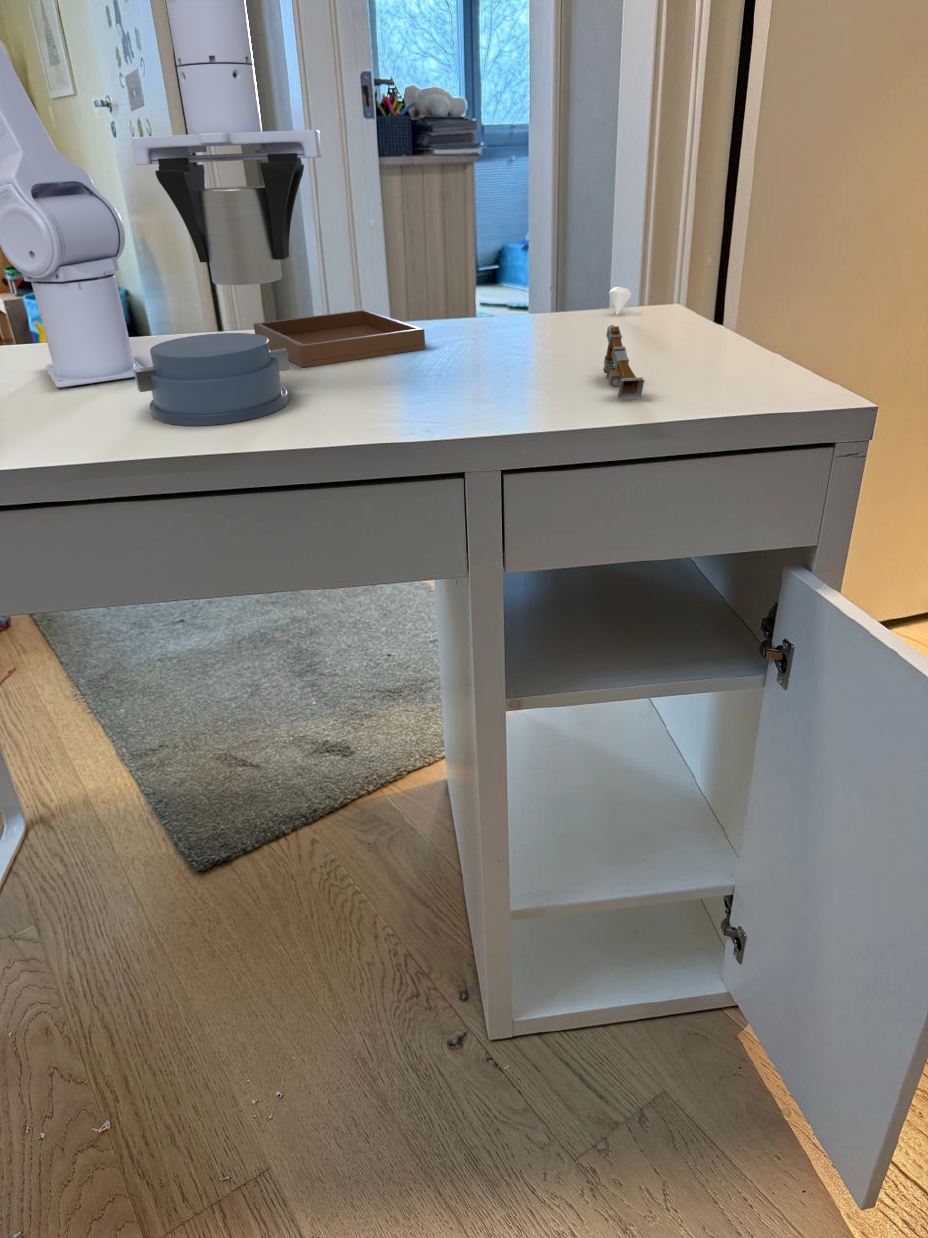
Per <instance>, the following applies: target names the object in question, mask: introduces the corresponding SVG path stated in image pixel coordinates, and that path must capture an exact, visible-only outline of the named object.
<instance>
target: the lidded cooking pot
mask: <svg viewBox="0 0 928 1238" xmlns="http://www.w3.org/2000/svg"><path fill="white" fill-rule="evenodd" d="M149 353H150V359H151V362H152V366H147V367H143V368H141V369H134V375H135V377H134V379H135V383H136V389H137V390H138V391H139V393H145V392H151V395H152V400H151V401H150V403H149V410H150V411H149V412H150V415H151V417H152V418H153V419H154V420H156V421H158V422H161V423H164V424H168V425H174V426H187V427H189V426H193V427H196V426H198V427H200V426H201V427H202V426H218V425H225V424H226V425H227V424H233V423H234V424H235V423H241V422H245V421H250V420H254V419H258V418H262V417H266V416H268V415H271V414H273V413H275V412H278V411H279V410H282V409H284V408H285V407H286V406H287V405H288V403H289V396H288V391H287V389H286V388H285V387H284V386H282V380H281V374H280V373H281V372H285V371H289V370H291V367H290V360H289V359H288V352H287V350H285V349H276V350H270V346H269V340H268V338H266V337H264V336H261V335H257V334H255V333H247V332H246V333H245V332H219V333H218V332H217V333H206V334H205V333H204V334H198V335H190V336H184V337H179V338H174V339H169V340H165V341H162V342H159V343H157V344H154V345H153V346H152V347H150V349H149Z"/></svg>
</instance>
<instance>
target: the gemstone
mask: <svg viewBox="0 0 928 1238" xmlns="http://www.w3.org/2000/svg"><path fill="white" fill-rule="evenodd" d="M608 294H609V297H610V300H611V303H612V305H613V308H614V311H615V314H616V315H618V314H619V313H620V312H621V311H622V309H624V308H625V305H627V303H628V302H629V301H630V300H631V299H632V297H633V296H634V294H633V293H632V291H631V290H630V289H629V288H626V287H621V286H615V287H613V288H612V289H611V290H610V291H609V292H608Z"/></svg>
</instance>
